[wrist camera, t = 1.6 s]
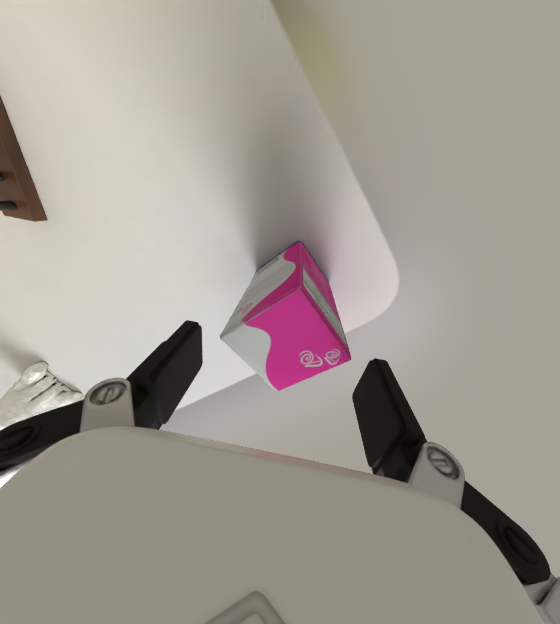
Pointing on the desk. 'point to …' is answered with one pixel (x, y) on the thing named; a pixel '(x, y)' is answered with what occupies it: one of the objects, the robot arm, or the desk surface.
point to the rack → (16, 177)
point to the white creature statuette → (34, 395)
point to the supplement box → (288, 321)
